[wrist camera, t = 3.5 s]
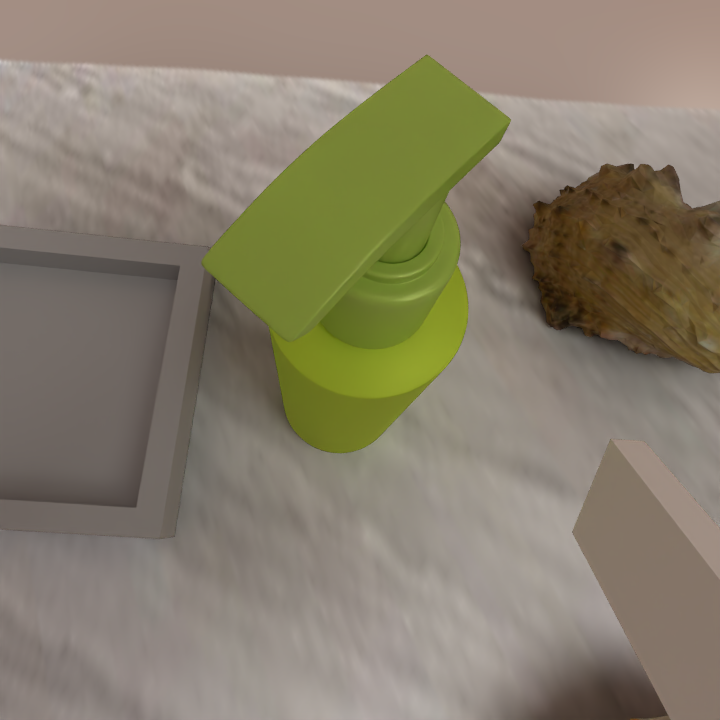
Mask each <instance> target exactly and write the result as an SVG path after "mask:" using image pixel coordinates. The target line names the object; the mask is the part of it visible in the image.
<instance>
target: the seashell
mask: <svg viewBox="0 0 720 720" xmlns="http://www.w3.org/2000/svg"><path fill="white" fill-rule="evenodd" d="M560 194H561V196H559V197H557V198H556V199H555V200H553V202H552V203H551V204H546V203H543V202H540V201H538V202H537V203H535V204H533V206H534V208H535V209H536V213H535V214H534V215H533V216H534V220H535V221H534V227H533V228H532V229H529V240H528V241H527V242H525V243H524V244H523V245H522V247H523V249H524V250H526V251H528V252H530V255H531V260H530V262H531V263H532V264H533V266H534V275H533V277H532V279H534V280H537V281H538V282H539V287H538V288H539V289H540V291H541V292H542V297H541V303H542V305H543V307H544V309H545V311H546V322H547V323H548V324H549V325H550V327H553V328H554V329H556V330H562V329H564V328H567V327H569V326H571V325H572V326H576V327H580V328H582V329H583V332H584V334H585V335H586V336H588V337H592V336H593V335H595V334H596V335H599V336H600V337H601V338H606V339H607V340H619V341H620V342H622V343H623V344H624V345H626V346H627V347H628V350H632V351H634V352H635V353H636V354H638V353H643V354H645V355H646V354H650V353H652V354H656V355H657V356H659V357H660V358H670V357H675V358H676V359H678V360H681V361H684V362H686V363H687V364H689V365H691V366H694V367H697V368H699V369H701V370H703V371H705V372H708V373H720V201H717V202H715V203H712V204H709V205H706V206H703V207H696V208H693V209H692V208H691V207H690V206H689V205H688V204H685V203H684V202H683V199H682V195H681V191H680V184H679V178H678V176H677V174H676V171H675V169H674V167H673V166H671V165H667V166H666V167H665V168H663V169H662V170H660V171H654V170H653V169H652V167H651V166H649V165H646V164H640V165H639V167H638V168H637V169H636V170H635V169H634V164H625V165H621V166H617V167H616V166H613V165H610V164H605V165H603V166H601V169H600V172H599V173H596V174H595V175H593V176H591V177H589V178H588V180H587V181H585V182H583V183H581V184H580V186H577V187H576V188H574V187H571V186H568V185H567V186H566V187H565V188H564V190H560Z"/></svg>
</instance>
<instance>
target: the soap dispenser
mask: <svg viewBox="0 0 720 720" xmlns="http://www.w3.org/2000/svg"><path fill="white" fill-rule="evenodd" d="M510 121H511V119H510V118H509V117H507V116H506V115H505V114H504V113H502V112H501V111H500V110H498V109H497V108H496V107H495V106H493V105H492V104H491V103H489V102H488V101H487V100H485V99H484V98H483V97H482V96H480V95H479V94H478V93H476V92H475V91H474V90H473V89H471V88H470V87H469V86H467V85H466V84H465V83H464V82H462V81H461V80H460V79H458V78H457V77H456V76H455V75H453V74H452V73H450V72H449V71H448V70H447V69H445V68H444V67H443V66H442V65H440V64H439V63H438V62H436V61H435V60H434V59H432V58H431V57H430V56H428V55H425V56H424V57H423V58H421V59H420V60H419V61H417V62H416V63H415V64H413V65H412V66H410V67H409V68H408V69H406V70H405V71H404V72H403V73H401V74H400V75H398V76H397V77H396V78H394V79H393V80H392V81H390V82H389V83H388V84H386V85H385V86H384V87H382V88H381V89H380V90H379V91H377V92H376V93H375V94H373V95H372V96H371V97H369V98H368V99H367V100H366V101H364V102H363V103H362V104H360V105H359V106H358V107H357V108H355V109H354V110H353V111H352V112H350V113H349V114H348V115H347V116H345V117H344V118H343V119H342V120H340V121H339V122H338V123H337V124H336V125H334V126H333V127H332V128H331V129H330V130H328V131H327V132H326V133H325V134H324V135H322V136H321V137H320V138H319V139H318V140H317V141H316V142H314V143H313V144H312V145H311V146H310V147H309V148H308V149H307V150H305V151H304V152H303V153H302V154H301V155H300V156H299V157H298V158H297V159H296V160H295V161H294V162H293V163H291V164H290V165H289V166H288V167H287V168H286V169H285V170H284V171H283V172H282V173H281V174H280V175H279V176H278V177H277V178H276V179H275V180H274V181H273V182H272V183H271V184H270V185H269V186H268V187H267V188H266V189H265V190H264V191H263V192H262V193H261V194H260V195H259V196H258V197H257V198H256V199H255V201H254V202H253V203H252V204H251V205H250V206H249V207H248V208H247V209H246V210H245V211H244V212H243V213H242V214H241V216H240V217H239V218H238V219H237V220H236V221H235V222H234V223H233V224H232V225H231V226H230V227H229V229H228V230H227V231H226V232H225V233H224V234H223V235H222V236H221V237H220V239H219V240H218V241H217V242H216V243H215V244H214V245H213V247H212V248H211V249H210V250H209V251H208V253H207V254H206V255H205V256H204V258H203V259H202V261H201V265H202V266H203V267H204V268H205V269H206V270H207V271H208V272H209V273H210V274H211V275H212V276H213V277H214V278H216V279H217V280H218V281H219V282H220V283H221V284H222V285H223V286H224V287H225V288H226V289H227V290H229V291H230V292H231V293H232V294H233V295H234V296H235V297H236V298H237V299H238V300H240V301H241V302H242V303H243V304H244V305H245V306H246V307H247V308H248V309H250V310H251V311H252V312H253V313H254V314H255V315H256V316H258V317H259V318H260V319H261V320H262V321H263V322H264V323H266V324H267V325H268V326H269V331H270V336H271V341H272V346H273V352H274V357H275V362H276V367H277V373H278V378H279V383H280V388H281V394H282V399H283V404H284V409H285V413H286V416H287V419H288V421H289V423H290V425H291V426H292V428H293V429H294V431H295V432H296V433H297V434H298V435H299V436H300V437H301V438H302V439H303V440H304V441H305V442H307V443H308V444H310V445H311V446H313V447H315V448H317V449H320V450H323V451H327V452H332V453H347V452H353V451H356V450H359V449H362V448H364V447H366V446H368V445H369V444H371V443H372V442H374V441H375V440H376V439H377V438H378V437H379V436H380V435H381V434H382V433H383V432H384V431H385V430H386V429H387V428H388V427H389V426H390V425H391V424H392V423H393V422H394V421H395V420H396V419H397V418H398V417H399V416H400V415H401V413H402V412H403V411H404V410H405V409H406V408H407V407H408V406H409V405H410V404H411V403H412V402H413V401H414V400H415V399H416V398H417V397H418V396H419V395H420V394H421V393H422V392H423V391H424V390H425V389H426V387H427V386H428V385H429V384H430V383H431V382H432V381H433V380H434V379H435V378H436V377H437V376H438V375H439V374H440V373H441V372H442V371H443V370H444V369H445V368H446V366H447V365H448V364H449V363H450V361H451V360H452V359H453V357H454V356H455V354H456V352H457V351H458V349H459V347H460V345H461V342H462V340H463V337H464V334H465V331H466V326H467V321H468V297H467V291H466V286H465V283H464V280H463V277H462V274H461V272H460V270H459V268H458V266H457V263H458V259H459V254H460V233H459V228H458V225H457V222H456V219H455V217H454V215H453V213H452V211H451V210H450V208H449V207H448V205H447V204H446V202H445V199H446V197H447V195H448V193H449V190H451V189H452V188H453V187H454V186H455V185H456V184H457V183H458V182H459V181H460V180H461V179H462V178H463V177H464V176H465V175H466V174H467V173H468V172H469V171H470V170H471V169H472V168H473V167H474V166H476V165H477V164H478V163H479V162H480V161H481V160H482V159H483V158H484V157H485V156H486V155H487V154H488V153H489V152H490V151H491V150H492V149H493V148H494V147H495V146H497V145H498V144H499V142H500V141H501V139H502V137H503V135H504V133H505V131H506V129H507V127H508V126H509V124H510Z"/></svg>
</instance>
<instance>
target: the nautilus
mask: <svg viewBox="0 0 720 720" xmlns="http://www.w3.org/2000/svg"><path fill="white" fill-rule="evenodd" d="M630 720H671V719H670V718H669V716H668V715H667V716H661V717H655V718H650V719H630Z"/></svg>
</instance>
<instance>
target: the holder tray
mask: <svg viewBox="0 0 720 720" xmlns="http://www.w3.org/2000/svg"><path fill="white" fill-rule="evenodd" d="M208 251H209V247H206V246H196V245H186V244H177V243H167V242H158V241H148V240H139V239H129V238H120V237H110V236H101V235H91V234H81V233H72V232H62V231H53V230H43V229H34V228H24V227H15V226H5V225H0V529H1V530H18V531H35V532H51V533H68V534H85V535H102V536H118V537H135V538H152V539H163V538H168V537H174V536H175V530H176V523H177V517H178V511H179V504H180V498H181V492H182V485H183V479H184V473H185V466H186V460H187V454H188V447H189V441H190V435H191V429H192V422H193V416H194V410H195V403H196V397H197V391H198V384H199V378H200V372H201V365H202V359H203V353H204V347H205V340H206V334H207V328H208V321H209V315H210V309H211V302H212V296H213V290H214V283H215V278H214V277H213V276H212V275H211V274H210V273H209V272H208V271H207V270H206V269H205V268H204V267H203V266H202V265H201V261H202V259H203V258H204V256H205V255H206V254H207V253H208Z"/></svg>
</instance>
